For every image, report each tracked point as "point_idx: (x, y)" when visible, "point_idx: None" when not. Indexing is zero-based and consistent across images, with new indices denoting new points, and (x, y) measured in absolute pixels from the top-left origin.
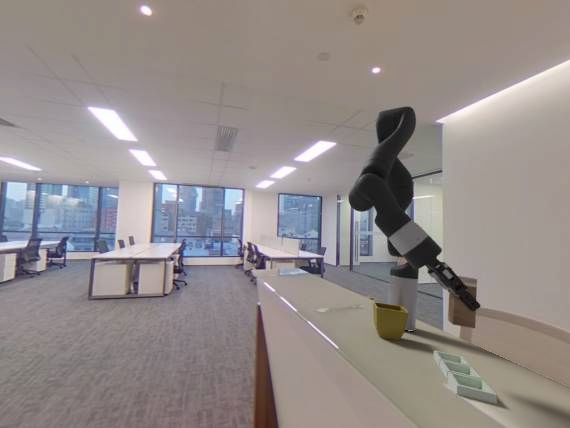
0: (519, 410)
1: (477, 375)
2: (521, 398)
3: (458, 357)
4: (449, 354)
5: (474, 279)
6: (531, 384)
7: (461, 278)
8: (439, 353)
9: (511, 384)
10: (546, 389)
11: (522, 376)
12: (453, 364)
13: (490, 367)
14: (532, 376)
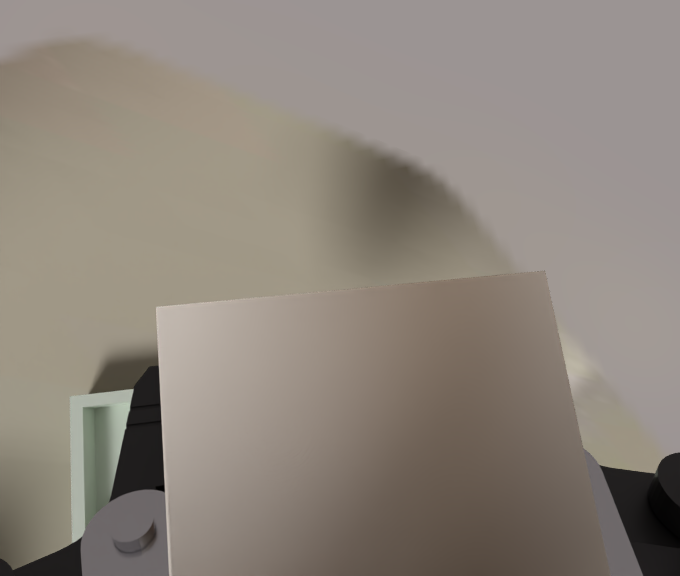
0: None
1: None
2: (332, 239)
3: (84, 415)
4: (84, 462)
5: (553, 315)
6: (134, 146)
7: (588, 548)
8: (86, 517)
9: (198, 229)
10: (153, 109)
11: (46, 147)
12: None
13: (11, 258)
14: (11, 102)
